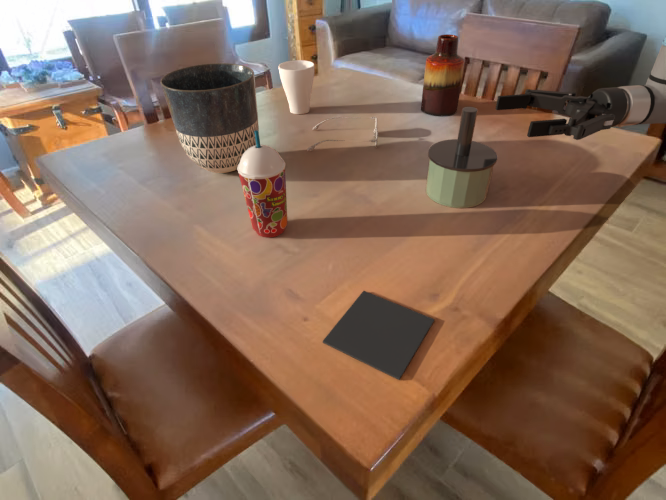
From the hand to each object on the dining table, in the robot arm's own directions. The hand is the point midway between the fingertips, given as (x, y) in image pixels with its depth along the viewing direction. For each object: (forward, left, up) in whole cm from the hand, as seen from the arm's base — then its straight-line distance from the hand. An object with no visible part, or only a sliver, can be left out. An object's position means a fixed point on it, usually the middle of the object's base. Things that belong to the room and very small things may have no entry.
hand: (512, 115), depth 83 cm
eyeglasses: (+42, -5, -16) cm, 45 cm away
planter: (+59, +22, -16) cm, 65 cm away
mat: (+3, +49, -16) cm, 51 cm away
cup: (+65, -17, -16) cm, 69 cm away
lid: (+7, +6, -8) cm, 12 cm away
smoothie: (+33, +37, -16) cm, 52 cm away
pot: (+7, +6, -16) cm, 18 cm away
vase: (+28, -38, -16) cm, 50 cm away
